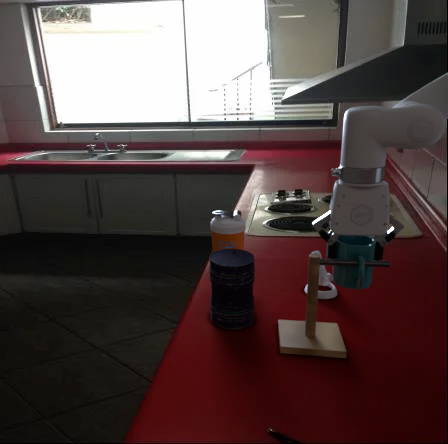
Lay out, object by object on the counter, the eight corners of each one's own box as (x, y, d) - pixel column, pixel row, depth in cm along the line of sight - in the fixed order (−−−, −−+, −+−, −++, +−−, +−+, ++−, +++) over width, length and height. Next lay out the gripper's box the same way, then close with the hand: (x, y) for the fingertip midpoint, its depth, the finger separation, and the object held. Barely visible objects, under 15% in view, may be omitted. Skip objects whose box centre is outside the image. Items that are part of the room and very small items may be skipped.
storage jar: (250, 332, 89) (251, 268, 84) (205, 326, 92) (203, 264, 88) (257, 309, 98) (258, 250, 93) (216, 304, 101) (214, 247, 97)
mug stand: (372, 331, 87) (382, 247, 81) (386, 361, 77) (398, 269, 72) (278, 325, 91) (280, 245, 85) (280, 353, 82) (283, 265, 76)
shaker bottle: (210, 277, 116) (208, 207, 109) (242, 275, 115) (242, 206, 109) (212, 292, 107) (211, 218, 101) (247, 291, 107) (248, 216, 101)
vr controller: (306, 257, 112) (328, 249, 106) (322, 301, 108) (345, 295, 103) (288, 259, 107) (311, 250, 102) (304, 305, 104) (328, 298, 98)
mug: (329, 272, 89) (332, 232, 86) (366, 274, 87) (370, 233, 84) (338, 296, 79) (342, 252, 76) (380, 298, 77) (385, 253, 74)
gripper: (314, 179, 76) (309, 268, 82) (420, 178, 72) (407, 271, 78) (309, 171, 83) (305, 253, 89) (406, 170, 79) (395, 256, 85)
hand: (353, 261), depth 83 cm, fingers closed on mug, 7 cm apart
